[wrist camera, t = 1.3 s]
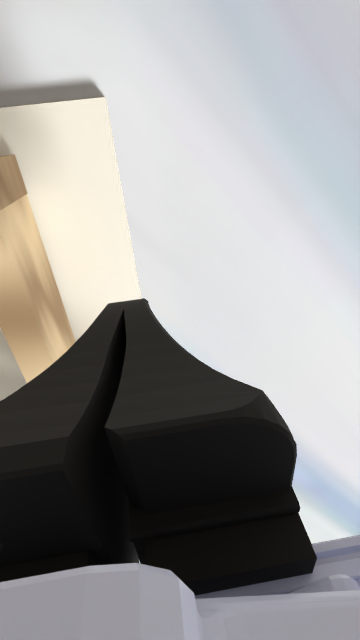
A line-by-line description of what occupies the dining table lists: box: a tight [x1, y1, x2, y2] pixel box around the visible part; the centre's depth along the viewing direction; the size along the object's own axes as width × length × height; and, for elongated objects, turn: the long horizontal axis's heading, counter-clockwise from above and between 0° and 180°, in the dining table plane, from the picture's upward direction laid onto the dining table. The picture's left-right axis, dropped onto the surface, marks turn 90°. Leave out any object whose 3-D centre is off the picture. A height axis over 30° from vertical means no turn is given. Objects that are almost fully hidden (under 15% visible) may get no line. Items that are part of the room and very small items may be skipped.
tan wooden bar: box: [0, 154, 75, 383], centre depth 15 cm, size 11×2×4 cm, turn 5°
